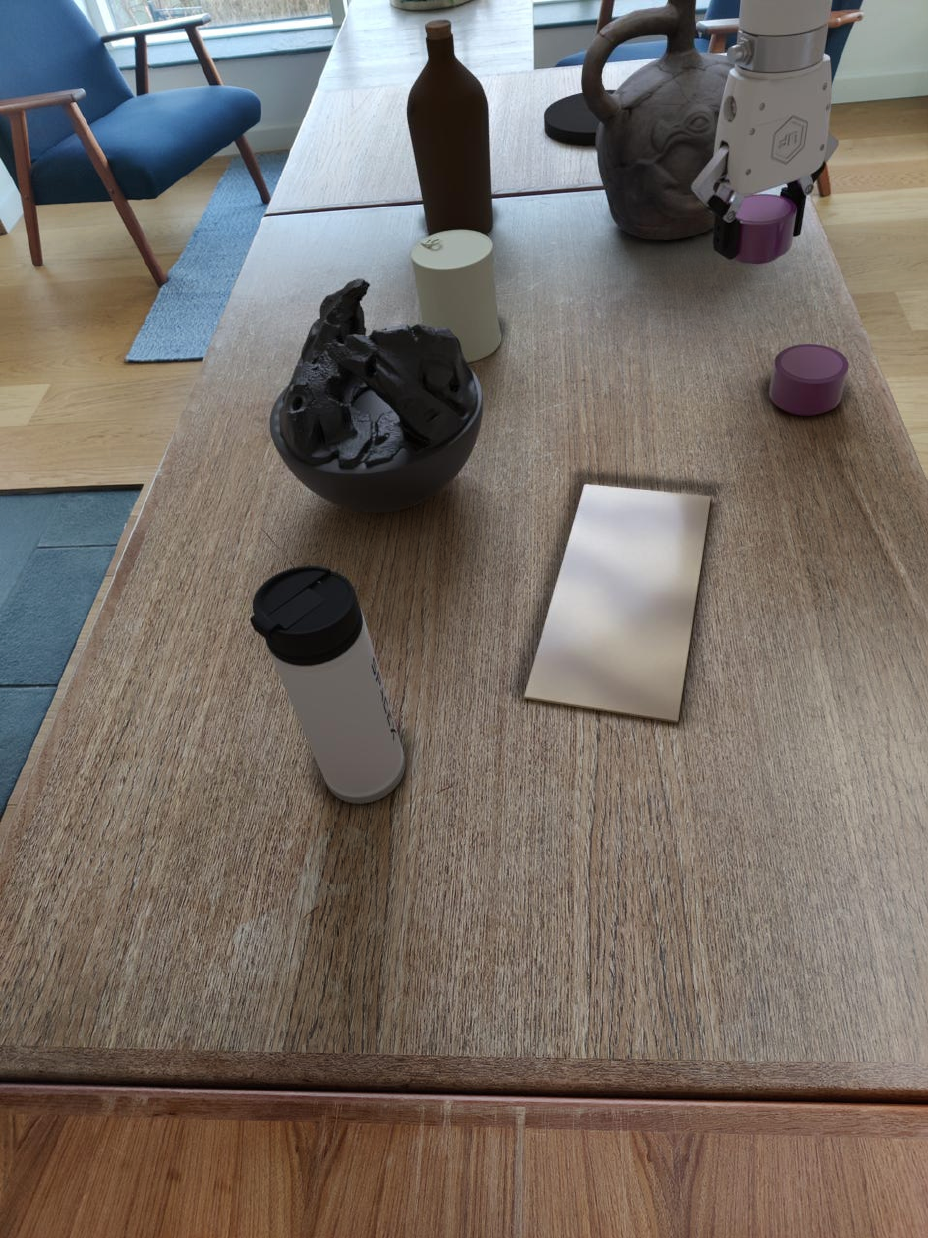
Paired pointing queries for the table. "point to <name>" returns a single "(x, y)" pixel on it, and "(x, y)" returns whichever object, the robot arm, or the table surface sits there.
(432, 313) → the can
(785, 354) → the purple short cylinder
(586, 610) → the beige metallic rectangular plate
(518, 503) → the table surface
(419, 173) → the olive oil
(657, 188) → the vessel
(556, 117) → the wireless charger
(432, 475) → the coal bowl
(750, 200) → the purple short cylinder
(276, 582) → the travel mug
